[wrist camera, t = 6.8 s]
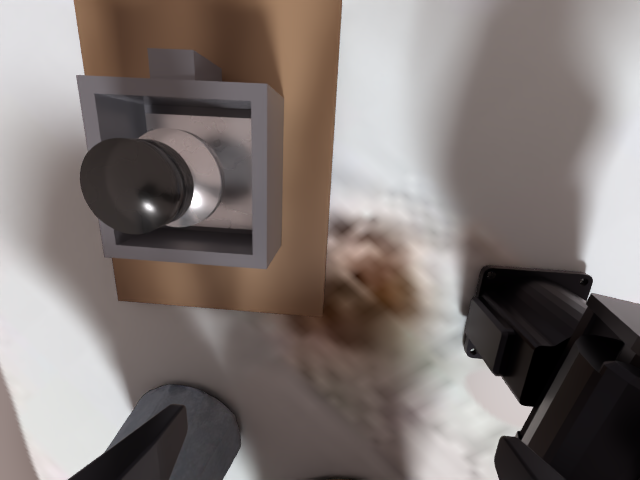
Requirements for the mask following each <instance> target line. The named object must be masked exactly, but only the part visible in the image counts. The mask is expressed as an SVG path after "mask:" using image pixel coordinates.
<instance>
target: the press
mask: <svg viewBox="0 0 640 480" xmlns="http://www.w3.org/2000/svg"><path fill="white" fill-rule="evenodd" d="M147 50H148V60H149V71H150V78H130V77H108V76H86V75H76V77H77V84H78V90H79V97H80V103H81V110H82V116H83V122H84V129H85V135H86V142H87V148H88V152H89V150H90V149H91V148H92V147H93V146H95V145H96V144H97V143H99V142H101V141H104V140H107V139H111V138H132V139H138V138H139V137H141V136H142V135H144V134H145V133H147V126H146V116H145V113H150V114H170V115H190V116H209V117H229V118H249V119H251V145H252V230H247V229H232V228H218V227H203V226H187V227H172V226H167V225H164V226H162V227H160V228H157V229H155V230H153V231H151V232H148V233H144V234H127V233H123V232H120V231H117V230H115V229H113V228H111V227H109V226H108V225H106V224H105V223H103V222H102V221H101V220H100V219H99V218H98V219H99V225H100V232H101V238H102V244H103V251H104V257H109V258H122V259H136V260H149V261H162V262H176V263H189V264H202V265H216V266H229V267H242V268H256V269H267V268H268V266H269V265H270V263H271V262H272V260H273V258H274V257H275V255H276V253H277V252H278V250H279V249H280V247H281V245H282V194H283V137H284V98H283V97H282V96H281V95H280V94H279V93H277V92H276V91H275V90H274V89H273V88H272V87H271V86H269V85H268V84H264V83H242V82H222V69H221V68H220V67H218V66H217V65H215V64H214V63H212V62H211V61H209V60H208V59H206V58H205V57H203V56H202V55H200V54H199V53H197V52H196V51H194V50H185V49H160V48H147Z"/></svg>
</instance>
